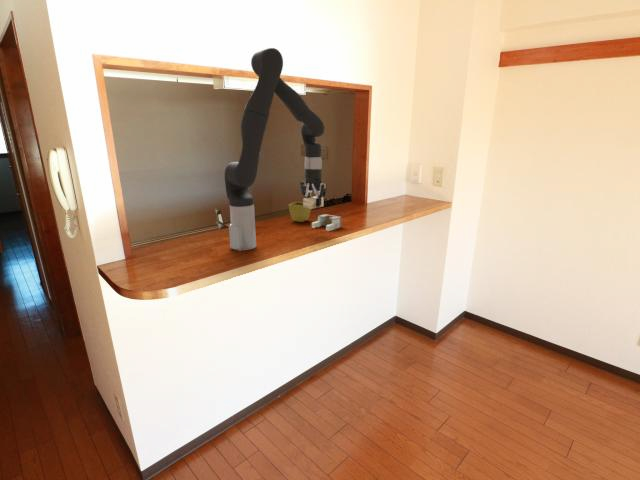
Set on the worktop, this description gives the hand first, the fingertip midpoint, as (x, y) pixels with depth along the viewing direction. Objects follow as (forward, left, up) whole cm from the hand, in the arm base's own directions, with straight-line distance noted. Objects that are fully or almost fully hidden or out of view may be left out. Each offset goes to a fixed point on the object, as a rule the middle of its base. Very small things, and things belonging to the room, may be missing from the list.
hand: (313, 205), depth 165 cm
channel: (+10, 0, -12) cm, 15 cm away
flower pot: (+11, +19, -12) cm, 25 cm away
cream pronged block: (0, 0, -1) cm, 1 cm away
